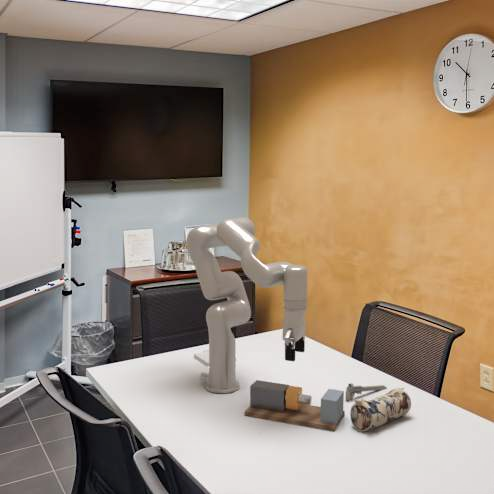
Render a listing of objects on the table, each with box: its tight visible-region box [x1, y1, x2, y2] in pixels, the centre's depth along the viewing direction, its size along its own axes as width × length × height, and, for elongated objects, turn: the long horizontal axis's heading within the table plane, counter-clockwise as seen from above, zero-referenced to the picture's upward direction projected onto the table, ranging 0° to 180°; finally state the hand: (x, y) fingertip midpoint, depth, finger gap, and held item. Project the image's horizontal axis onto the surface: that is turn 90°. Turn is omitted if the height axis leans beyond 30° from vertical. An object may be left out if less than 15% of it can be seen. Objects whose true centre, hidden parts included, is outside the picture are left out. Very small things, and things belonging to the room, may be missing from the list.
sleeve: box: [249, 379, 291, 413], centre depth 207 cm, size 12×6×7 cm, turn 67°
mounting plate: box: [193, 349, 237, 368], centre depth 259 cm, size 18×13×2 cm
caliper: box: [345, 382, 388, 402], centre depth 221 cm, size 21×1×6 cm, turn 128°
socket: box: [320, 388, 345, 424], centre depth 199 cm, size 5×9×8 cm, turn 157°
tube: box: [285, 385, 313, 410], centre depth 205 cm, size 18×4×6 cm, turn 67°
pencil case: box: [350, 387, 412, 433], centre depth 199 cm, size 22×8×10 cm, turn 129°
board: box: [244, 404, 346, 432], centre depth 204 cm, size 30×13×2 cm, turn 67°
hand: (294, 355), depth 201 cm, fingers open, 9 cm apart
